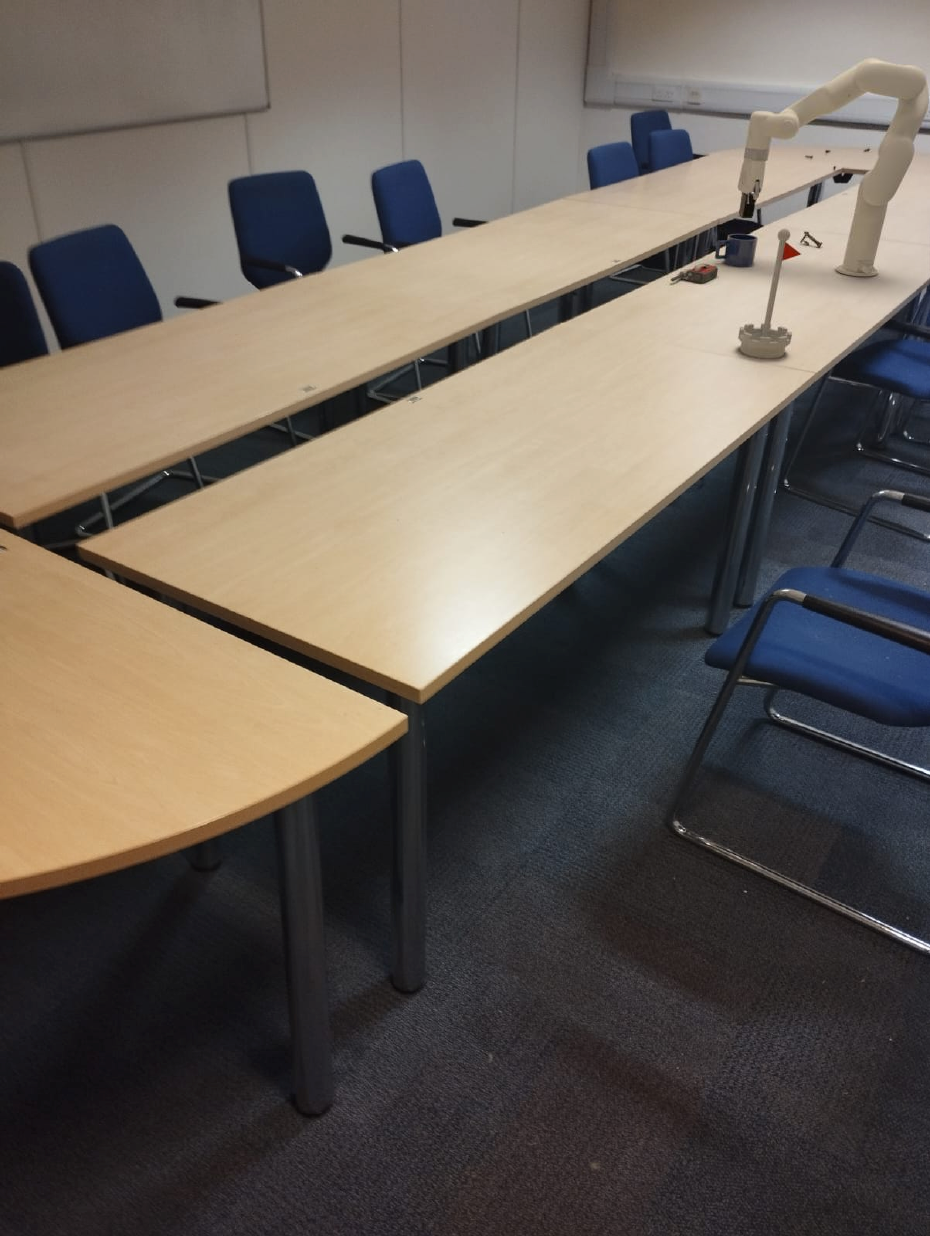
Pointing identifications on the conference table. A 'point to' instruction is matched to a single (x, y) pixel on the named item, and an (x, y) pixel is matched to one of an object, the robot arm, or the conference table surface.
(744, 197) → the walnut peg
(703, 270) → the walkie-talkie
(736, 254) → the mug
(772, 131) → the robot arm
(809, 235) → the wooden post with brackets
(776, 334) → the flag stand
